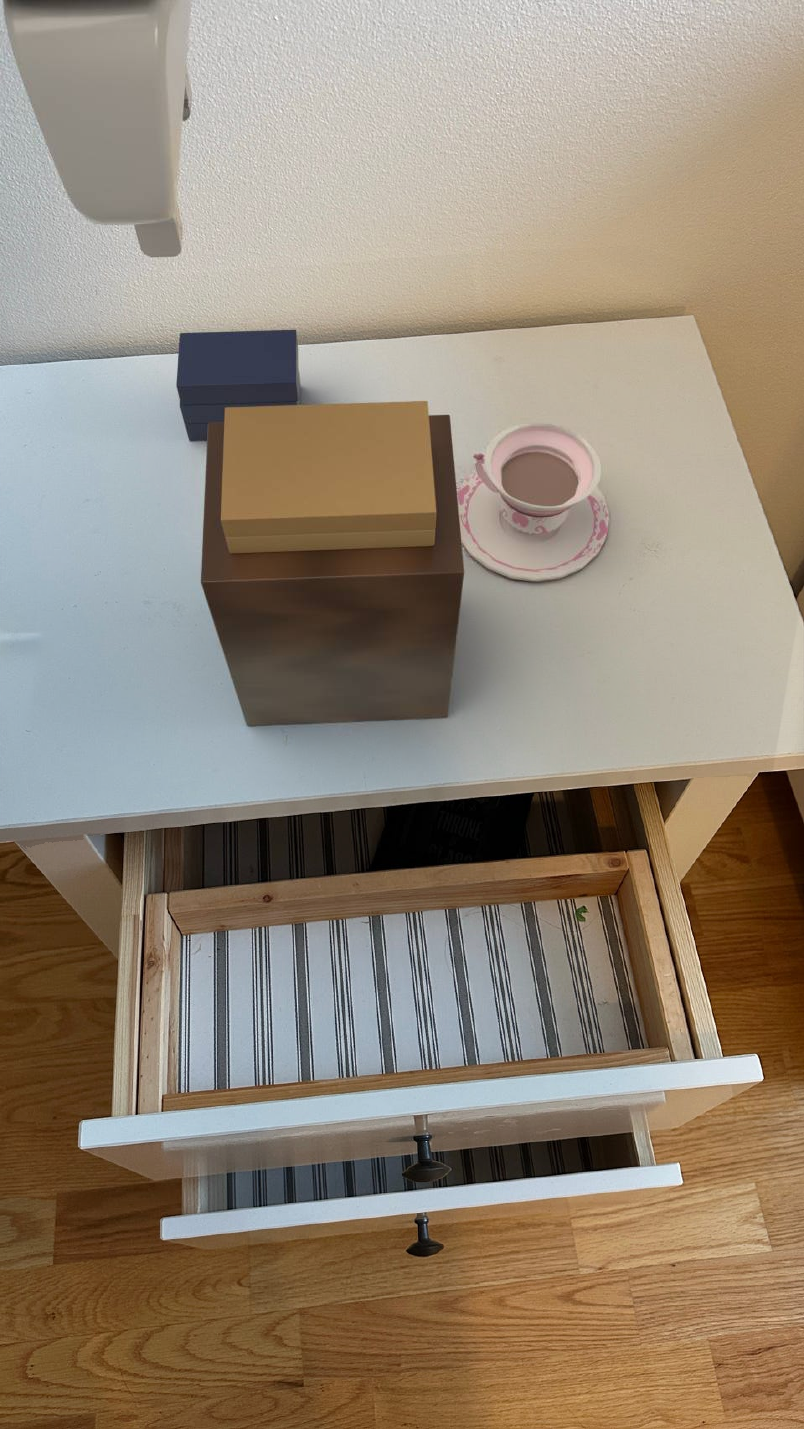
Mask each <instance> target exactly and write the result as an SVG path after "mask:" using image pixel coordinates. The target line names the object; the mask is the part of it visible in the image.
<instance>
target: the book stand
mask: <svg viewBox="0 0 804 1429" xmlns="http://www.w3.org/2000/svg"><path fill="white" fill-rule="evenodd" d="M429 426H430V438H431V451H432V463H433V476H434V488H435V500H436V527H435V542H434V546H420V547H393V548H366V549H339V550H313V551H286V552H259V553H232V554H231V553H230V552H229V549H228V545H227V541H226V537H225V534H224V530H223V526H222V522H221V502H222V474H223V447H224V422H216V423H208V433H207V440H206V454H205V455H206V460H205V477H204V478H205V480H204V498H203V499H204V500H203V501H204V502H203V522H202V523H203V525H202V527H203V528H202V544H201V567H200V569H201V570H200V585H201V588H202V592H203V594H204V598H205V600H206V603H207V607H208V610H209V613H210V615H211V619H212V622H213V625H214V628H215V631H216V634H217V638H218V640H219V644H220V647H221V650H222V654H223V656H224V659H225V663H226V665H227V669H228V672H229V675H230V678H231V682H232V685H233V688H234V690H235V693H236V696H237V700H238V703H239V706H240V710H241V712H242V715H243V719H244V721H245V725H246V726H247V727H255V726H256V727H257V726H260V727H261V726H281V725H282V726H283V725H302V724H303V725H305V724H325V723H326V724H328V723H348V722H349V723H350V722H351V723H353V722H374V721H375V722H376V721H377V722H378V721H398V720H401V721H402V720H421V719H445V718H447V719H448V717H449V711H450V710H449V709H450V700H451V694H452V692H451V691H452V686H453V685H452V684H453V676H454V666H455V658H456V649H457V640H458V633H459V632H458V631H459V624H460V616H461V615H460V614H461V606H462V605H461V604H462V596H463V587H464V578H465V563H464V554H463V553H464V552H463V544H462V541H461V530H460V520H459V509H458V498H457V493H458V488H457V477H456V468H455V456H454V446H453V434H452V424H451V416H450V414H429Z"/></svg>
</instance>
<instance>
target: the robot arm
mask: <svg viewBox="0 0 804 1429" xmlns="http://www.w3.org/2000/svg"><path fill="white" fill-rule="evenodd" d="M2 7H3V15H4V20H5V27H6V30H7V36H8V39H9V43H10V47H11V50H12V53H13V57H14V60H15V63H16V67H17V70H18V72H19V75H20V78H21V80H22V84H23V86H24V89H25V92H26V95H27V97H28V100H29V102H30V105H31V107H32V111H33V113H34V115H35V119H36V121H37V123H38V126H39V128H40V131H41V135H42V136H43V139H44V141H45V145H46V146H47V149H48V151H49V154H50V156H51V159H52V161H53V164H54V166H55V168H56V171H57V173H58V177H59V178H60V181H61V184H62V187H63V188H64V190H65V193H66V195H67V197H68V198H69V200H70V202H71V204H72V205H73V207H74V208H75V209H76V211H78V212H79V214H81V215H82V217H83V218H84V219H86V220H87V221H89V222H90V223H92V224H94V225H98V226H99V225H101V226H128V225H129V226H131V225H133V227H134V231H135V234H136V237H137V241H138V245H139V248H140V251H141V252H142V253H143V254H144V255H145V256H147V257H150V258H174V257H177V256H179V255H180V254H181V253H182V249H183V248H182V247H183V234H184V233H183V230H184V227H183V222H182V219H181V214H180V208H179V204H178V187H179V186H178V185H179V173H180V158H181V144H182V133H183V131H182V130H183V122H187V120H188V119H190V116H191V112H192V104H193V103H192V101H193V92H192V91H193V90H192V87H191V86H192V85H191V81H190V74H189V69H188V50H189V38H190V26H191V24H190V23H191V10H192V0H2Z"/></svg>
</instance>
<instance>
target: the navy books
mask: <svg viewBox="0 0 804 1429" xmlns="http://www.w3.org/2000/svg"><path fill="white" fill-rule="evenodd" d="M299 368H300V367H299V366H298V401H291V402H260V403H228V404H197V405H181V402H180V401H179V409H180V412H181V416H182V420H183V423H184V427H185V431H186V434H187V438H188V441H189V442H197V441H203V442H204V441H207V433H208V423H216V422H224V420H225V408H227V407H257V406H288V405H302V396H301V395H302V390H301V389H302V385H301V377H300V369H299Z"/></svg>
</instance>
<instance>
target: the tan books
mask: <svg viewBox="0 0 804 1429" xmlns="http://www.w3.org/2000/svg"><path fill="white" fill-rule="evenodd" d="M429 415H430V414H429V402H428V400H416V401H415V400H411V401H409V400H408V401H384V402H383V401H382V402H351V403H350V402H349V403H323V404H301V405H288V406H257V407H227V408H225V420H224V447H223V474H222V502H221V522H222V526H223V530H224V534H225V537H226V541H227V545H228V549H229V552H230V553H231V554H232V553H259V552H286V551H313V550H339V549H366V548H393V547H420V546H434V542H435V527H436V500H435V488H434V476H433V463H432V451H431V438H430V426H429Z"/></svg>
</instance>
